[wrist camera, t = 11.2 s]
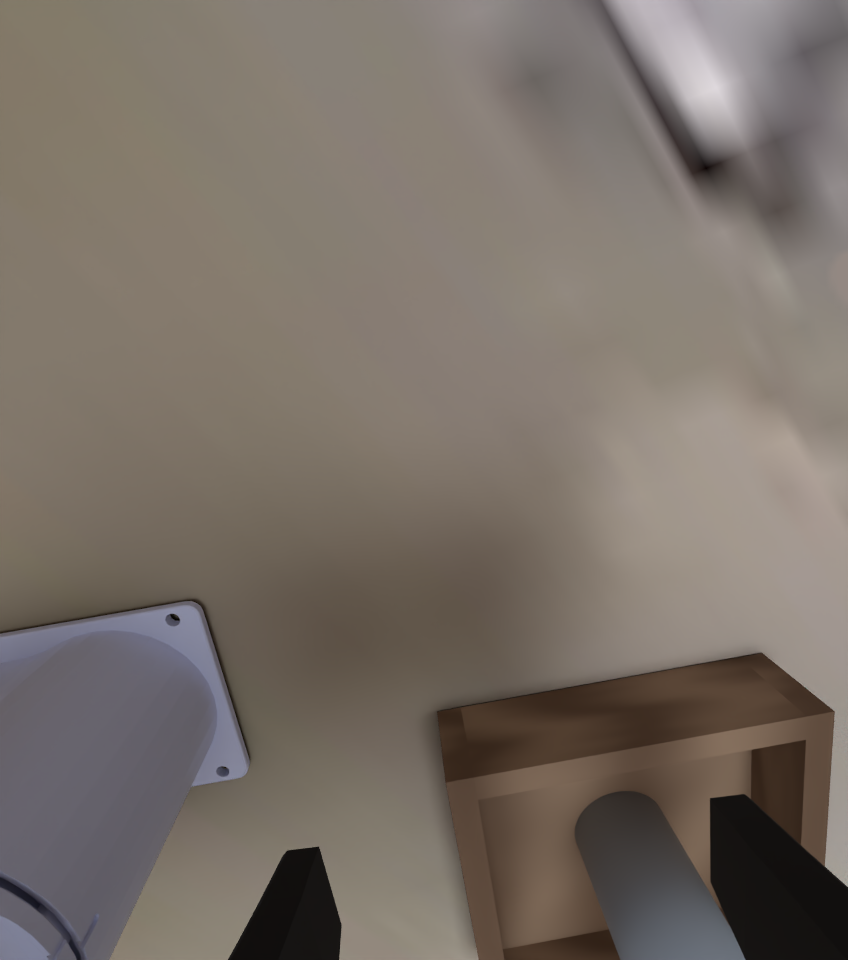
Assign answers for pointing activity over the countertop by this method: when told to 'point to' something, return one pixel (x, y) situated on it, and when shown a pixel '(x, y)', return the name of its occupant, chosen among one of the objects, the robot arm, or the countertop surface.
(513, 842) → the open box
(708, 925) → the peg
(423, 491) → the countertop surface
